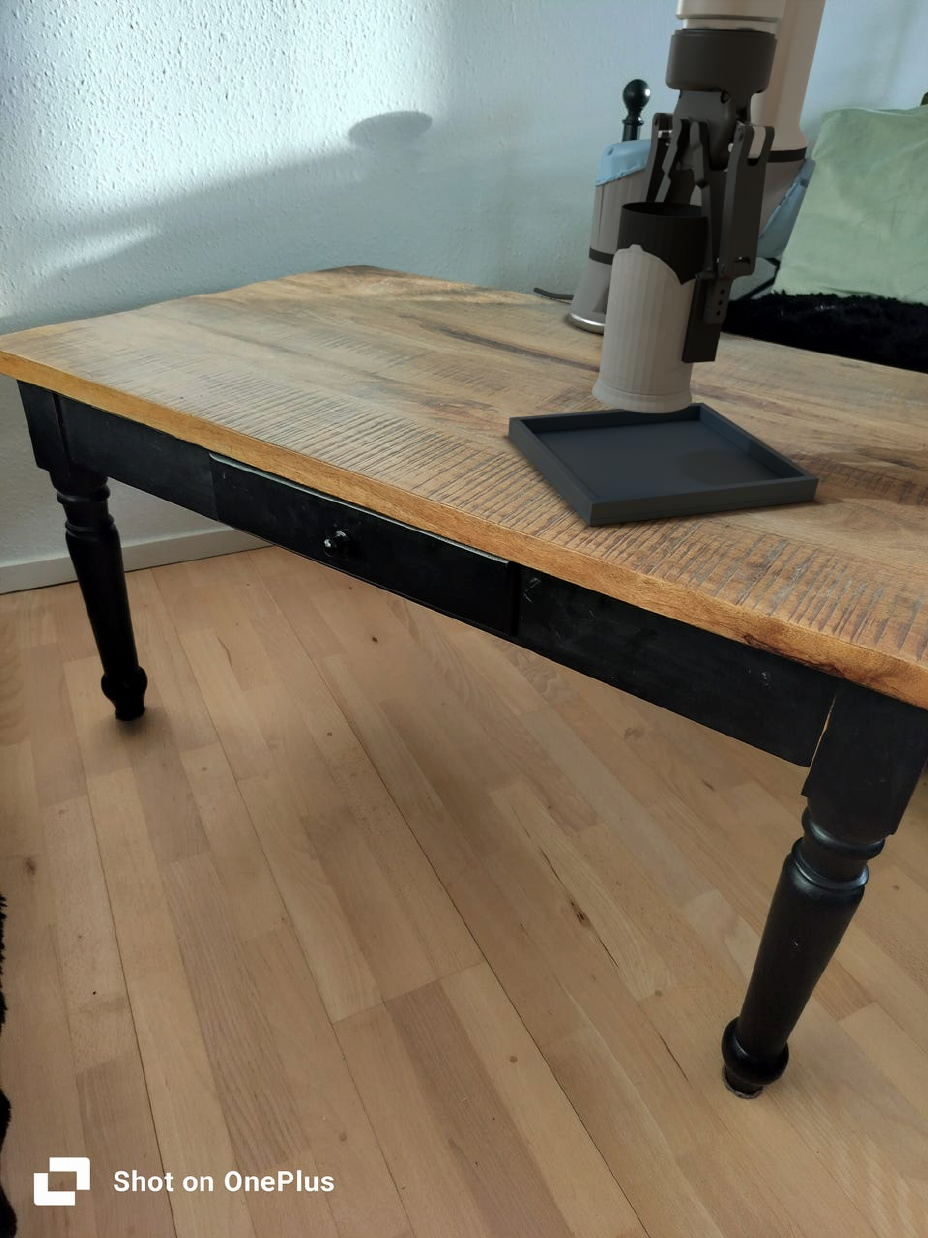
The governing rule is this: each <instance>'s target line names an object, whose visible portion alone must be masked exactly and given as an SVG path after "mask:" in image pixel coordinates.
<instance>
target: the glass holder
mask: <svg viewBox="0 0 928 1238" xmlns="http://www.w3.org/2000/svg"><path fill="white" fill-rule="evenodd" d="M662 204H663V202H634V203H627V204H624V205H622V208H621V216H620V224H619V232H618V241H617V249H616V254H615V256H614V258H613V264H612V272H611V281H610V289H609V297H608V306H607V314H606V322H605V331H604V334H603V340H602V348H601V356H600V364H599V374H598V377H597V380H596V382H595V383H594V385H593V386H592V390H591V394H592V396H593V397H594V398H595V399H596V400H597V401H598V402H601V403H602V404H604V405H606V406H609V407H612V408H614V409H623V410H628V411H634V412H643V413H666V412H673V411H678V410H682V409H684V408H686V407H688V406H689V405H690V404H691V403H693V395H692V392H691V380H692V375H693V369H694V364H695V363H684V362H683V361H681V360H682V354H683V348H684V343H685V337H686V331H687V326H688V320H689V314H690V309H691V303H692V297H693V292H694V286H695V280H696V276H695V274H697V273H699V272H702V271H704V267H703V234H704V229H705V223H706V217H707V216H702V209H701V206H698V205H692V204H683V203H673V202H666V203H665V204H663V205H662ZM718 262H719V258H718V261H717V263H718Z"/></svg>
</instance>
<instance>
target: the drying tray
mask: <svg viewBox="0 0 928 1238" xmlns="http://www.w3.org/2000/svg"><path fill="white" fill-rule="evenodd" d="M508 420H509V421H508V433H507V438H508V439H509V440H510V441H511V442H512V444H513V445H514V446H515V447H516V448H517V449H518V450H519V451H520V452H521V454H522V455H523V456H524V457H525V458H526V459H527V460H528V461H529V462H530V463H531V464H532V466H533V467H534V468H535V469H536V470H537V471H538V472H539V473H540V474H541V476H542V477H544V478H545V479H546V481H547V483H549V484H550V485H551V486H552V487H553V489H554V490H556V492H557V493H558V494H559V495H560V496H561V498H563V499H564V500H565V502H566V503H567V504H568V505H569V507H570V508H572V509H573V511H575V513H576V514H577V515H578V516H579V517H580V518H581V519H582V520H583V521H584V523H586V525H587V526H588V527H598V526H606V525H614V524H622V523H623V524H624V523H631V522H641V521H649V520H656V519H657V520H659V519H666V518H673V517H682V516H690V515H691V516H692V515H700V514H708V513H716V512H726V511H734V510H743V509H751V508H760V507H767V506H776V505H784V504H793V503H794V504H795V503H800V502H802V503H803V502H810V501H814V498H815V496H816V492H817V488H818V485H819V481H820V478H819V477H817V476H816V475H815V474H813V473H811V472H810V471H808V470H807V469H805V468H804V467H802V466H801V465H799V464H798V463H796V462H795V461H793V460H792V459H790V458H788V457H787V456H785V455H784V454H782V453H781V452H779V451H777V449H775V448H774V447H772V446H770V445H769V444H767V443H766V442H764V441H763V440H761V439H759V438H758V437H756V436H755V435H753V434H752V433H750V432H749V431H748V430H746V429H745V428H744V427H741V426H740V425H738V424H737V423H735V422H733V421H732V420H731V419H729V418H728V417H726V416H724V415H723V414H721V413H720V412H718V411H717V410H715V409H714V408H712V406H711V407H710V406H709V405H708V404H706V403H704V402H701V401H700V402H692V403H691V404H690V405H689V406H688V407H686V408H684V409H682V410H678V411H673V412H666V413H643V412H634V411H628V410H623V409H619V408H613V409H601V410H589V411H587V410H586V411H574V412H563V413H561V412H560V413H550V414H549V413H547V414H538V415H537V414H536V415H525V416H524V415H523V416H510V417H509V419H508Z"/></svg>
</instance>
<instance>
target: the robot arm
mask: <svg viewBox="0 0 928 1238" xmlns="http://www.w3.org/2000/svg"><path fill="white" fill-rule="evenodd" d="M826 1H827V0H676V6H675V12H674V16H675V17H676V19H677V20H679V21H682V24H681V25H682V29H675V30H674V34H671V36H670V43H669V49H668V50H669V51H668V57H667V64H666V69H665V70H666V71H665V77H664V82H665V85H666V86H667V88H669V89H670V90H678V91H679V94H678V98H677V101H676V104H675V107H674V110H673V112H655V113H654V114H653V116H652V120H651V132H650V138H644V139H635V140H626V141H619V142H615V143H612V144H610V145H608V146H607V147H605V148H604V149H603V151H602V153H601V154H600V157H599V164H598V170H597V175H596V181H595V182H594V187H595V191H594V202H593V209H592V218H591V219H592V220H591V230H590V239H589V249H588V256H587V264H586V266H585V268H584V271H583V274H582V276H581V278H580V281H579V283H578V286H577V288H576V290H575V293H574V294H567V293H566V294H565V293H555V292H551V291H548V290H545V289H541V288H539V287H534V288H533V292H534V293H536V294H539V295H541V296H543V297H546V298H550V299H552V300H553V299H554V300H560V301H561V300H564V301H571V303H570V307H569V313H568V314H569V315H568V320H569V322H570V323H571V324H573V325H574V326H575V327H578V328H579V329H582V330H584V331H588V332H591V333H595V334H600V335H604V331H605V322H606V314H607V306H608V297H609V289H610V281H611V272H612V264H613V258H614V256H615V254H616V249H617V241H618V232H619V224H620V216H621V208H622V205H624V204H627V203H634V202H663V204H665V203H666V202H673V203H683V204H692V205H698V206H701V209H702V216H707V217H706V223H705V229H704V234H703V267H704V271H702V272H699V273H697V274H695V276H696V280H695V286H694V292H693V297H692V303H691V309H690V314H689V320H688V326H687V331H686V337H685V343H684V348H683V354H682V360H681V361H683V362H684V363H694V364H698V363H715V362H716V357H717V353H718V348H719V342H720V338H721V333H722V327H723V323H724V321H725V319H726V316H727V312H728V310H727V309H728V307H729V306H728V304H729V302H730V296H731V291H732V286H733V284H734V281H735V280H736V279H739V278H742V277H750V276H752V275H753V274H754V272H755V269H756V263H757V262H756V261H757V258H760V259H761V258H762V259H773V258H776V257H778V256H780V255H781V254H782V253H783V252H785V250H786V248H787V246H788V244H789V242H790V241H789V240H790V239H791V236H792V234H793V230H794V227H795V224H796V222H797V219H798V216H799V213H800V210H801V208H802V205H803V202H804V199H805V196H806V193H807V190H808V188H809V185H810V182H811V179H812V177H813V174H814V172H815V168H816V165H817V162H816V160H814V159H812V158H811V156H810V157H809V156H807V157H806V155H807V149H808V147H809V146H808V145H809V140H808V138H807V137H806V136H805V134H804V132H803V131H802V129H801V126H800V123H801V118H802V113H803V109H804V104H805V98H806V94H807V89H808V85H809V81H810V76H811V72H812V66H813V63H814V57H815V52H816V47H817V43H818V38H819V35H820V30H821V29H820V28H821V25H822V21H823V15H824V10H825V6H826ZM663 204H662V205H663ZM718 259H719V262H718Z"/></svg>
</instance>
